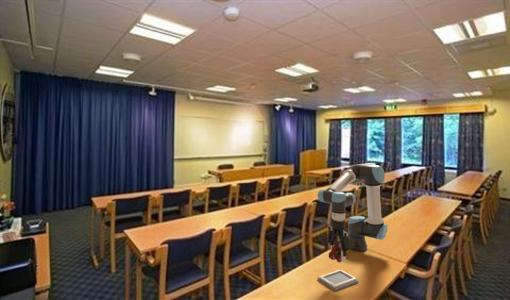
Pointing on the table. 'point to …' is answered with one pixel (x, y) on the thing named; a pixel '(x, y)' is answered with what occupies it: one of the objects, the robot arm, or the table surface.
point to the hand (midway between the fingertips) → (337, 258)
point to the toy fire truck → (336, 252)
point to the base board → (338, 280)
